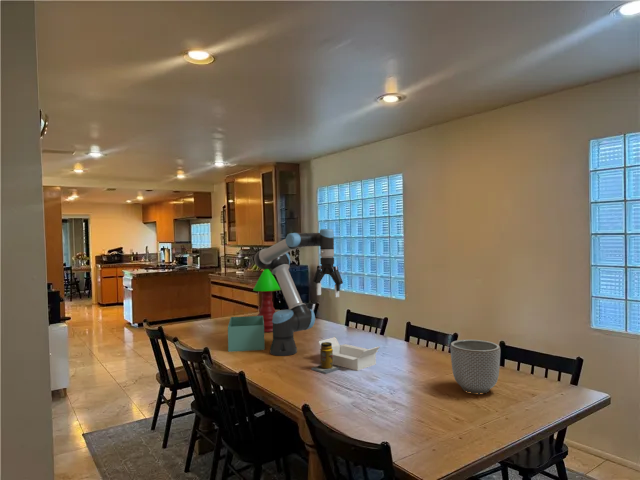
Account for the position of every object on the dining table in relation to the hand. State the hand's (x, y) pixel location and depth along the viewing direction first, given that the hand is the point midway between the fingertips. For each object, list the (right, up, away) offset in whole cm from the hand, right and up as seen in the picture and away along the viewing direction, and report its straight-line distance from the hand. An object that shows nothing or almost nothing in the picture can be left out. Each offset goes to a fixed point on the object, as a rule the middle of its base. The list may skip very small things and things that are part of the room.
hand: (327, 296), depth 242 cm
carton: (+10, -33, -14) cm, 37 cm away
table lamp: (-41, -33, +72) cm, 89 cm away
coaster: (-2, -33, -24) cm, 41 cm away
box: (-49, -34, +30) cm, 67 cm away
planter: (+61, -32, -57) cm, 89 cm away
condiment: (-2, -32, -24) cm, 40 cm away
